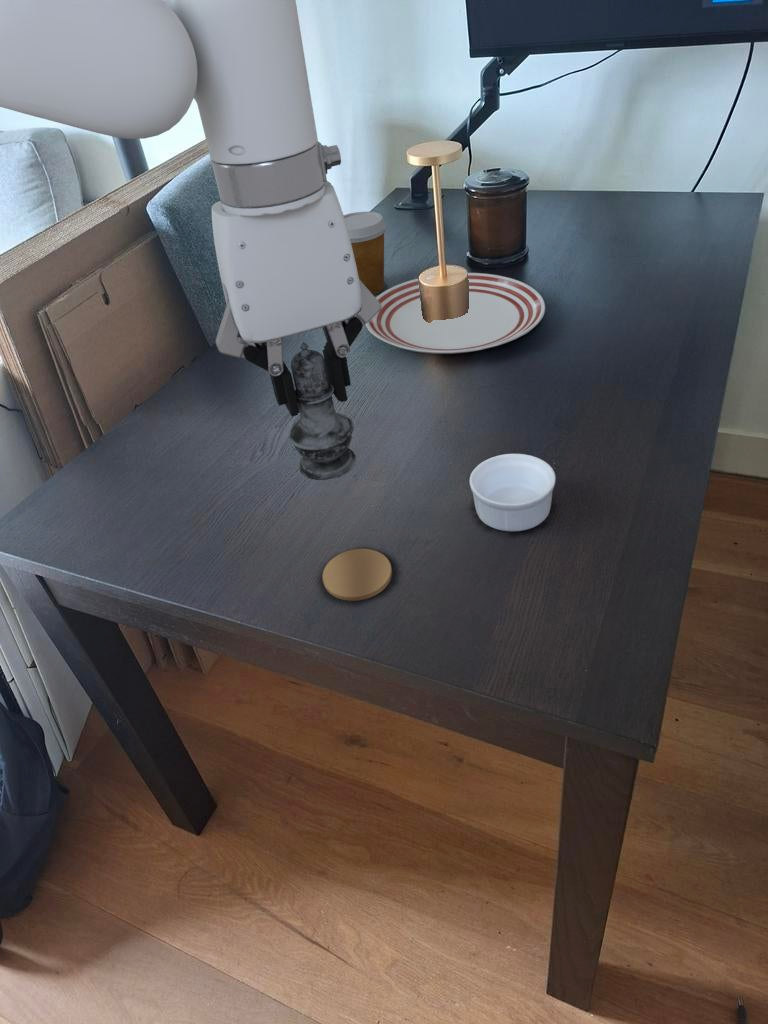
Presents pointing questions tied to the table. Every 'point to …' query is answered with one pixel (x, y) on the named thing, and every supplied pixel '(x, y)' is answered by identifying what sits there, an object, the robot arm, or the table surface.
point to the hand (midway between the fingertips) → (314, 399)
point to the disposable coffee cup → (368, 247)
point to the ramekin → (512, 491)
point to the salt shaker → (319, 421)
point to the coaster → (357, 574)
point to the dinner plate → (489, 322)
